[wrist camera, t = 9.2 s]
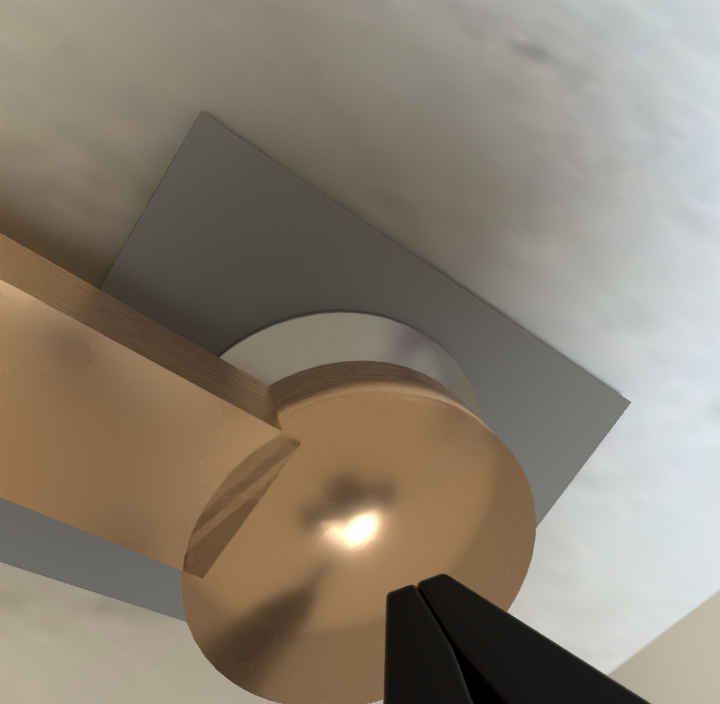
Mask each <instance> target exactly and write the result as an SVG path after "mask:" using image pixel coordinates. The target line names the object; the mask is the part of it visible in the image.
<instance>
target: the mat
mask: <svg viewBox="0 0 720 704" xmlns="http://www.w3.org/2000/svg"><path fill="white" fill-rule="evenodd" d="M100 290H101V291H103V292H105V293H107V294H108V295H110V296H112V297H114V298H115V299H117V300H119V301H121V302H122V303H124V304H126V305H128V306H129V307H131V308H133V309H135V310H136V311H138V312H140V313H142V314H143V315H145V316H147V317H149V318H151V319H152V320H154V321H156V322H158V323H159V324H161V325H163V326H165V327H166V328H168V329H170V330H172V331H173V332H175V333H177V334H179V335H180V336H182V337H184V338H186V339H187V340H189V341H191V342H193V343H194V344H196V345H198V346H200V347H201V348H203V349H205V350H207V351H208V352H210V353H212V354H214V355H215V356H217V355H218V354H219V353H220V352H221V351H223V350H224V349H225V348H226V347H228V346H229V345H230V344H232V343H234V342H235V341H237V340H238V339H240V338H242V337H243V336H245V335H246V334H248V333H250V332H252V331H254V330H256V329H258V328H260V327H262V326H265V325H267V324H269V323H271V322H274V321H277V320H280V319H283V318H286V317H290V316H293V315H297V314H302V313H308V312H313V311H322V310H338V309H341V310H356V311H365V312H370V313H374V314H379V315H384V316H387V317H389V318H392V319H395V320H398V321H401V322H403V323H405V324H407V325H409V326H411V327H413V328H415V329H417V330H419V331H421V332H422V333H423V334H425V335H426V336H427V337H429V338H430V339H432V340H433V341H434V342H436V343H437V344H438V345H439V346H440V347H441V348H442V349H443V350H444V351H446V352H447V353H448V354H449V355H450V356H451V357H452V358H453V359H454V360H455V362H456V363H457V364H458V366H459V367H460V368H461V370H462V371H463V372H464V374H465V375H466V377H467V378H468V380H469V382H470V384H471V386H472V388H473V390H474V392H475V394H476V397H477V400H478V403H479V406H480V408H481V413H482V418H483V422H484V423H485V425H486V426H487V427H488V428H489V429H490V430H491V431H492V432H493V433H494V434H495V435H496V436H497V437H498V438H499V439H500V440H501V441H502V442H503V443H504V444H505V445H506V446H507V447H508V448H509V449H510V451H511V452H512V453H513V455H514V456H515V458H516V459H517V461H518V462H519V464H520V465H521V467H522V469H523V471H524V473H525V475H526V478H527V480H528V482H529V485H530V488H531V492H532V496H533V500H534V506H535V515H536V527H537V526H538V525H539V523H540V522H541V521H542V520H543V518H544V517H545V516H546V514H547V513H548V512H549V510H550V509H551V508H552V506H553V505H554V504H555V502H556V501H557V500H558V498H559V497H560V496H561V494H562V493H563V492H564V490H565V489H566V488H567V486H568V485H569V484H570V483H571V481H572V480H573V479H574V477H575V476H576V475H577V473H578V472H579V471H580V469H581V468H582V467H583V465H584V464H585V463H586V461H587V460H588V459H589V457H590V456H591V455H592V453H593V452H594V451H595V450H596V448H597V447H598V446H599V444H600V443H601V442H602V440H603V439H604V438H605V436H606V435H607V434H608V432H609V431H610V430H611V428H612V427H613V426H614V424H615V423H616V422H617V420H618V419H619V418H620V416H621V415H622V414H623V413H624V411H625V410H626V409H627V407H628V406H629V405H630V403H631V402H630V401H629V400H627V399H626V398H624V397H623V396H621V395H620V394H618V393H617V392H615V391H614V390H613V389H611V388H610V387H608V386H607V385H605V384H604V383H602V382H601V381H599V380H598V379H596V378H595V377H593V376H592V375H590V374H589V373H587V372H586V371H584V370H583V369H581V368H580V367H579V366H577V365H576V364H574V363H573V362H571V361H570V360H568V359H567V358H565V357H564V356H562V355H561V354H559V353H558V352H556V351H555V350H553V349H552V348H550V347H549V346H548V345H546V344H545V343H543V342H542V341H540V340H539V339H537V338H536V337H534V336H533V335H531V334H530V333H528V332H527V331H525V330H524V329H522V328H521V327H519V326H518V325H516V324H515V323H514V322H512V321H511V320H509V319H508V318H506V317H505V316H503V315H502V314H500V313H499V312H497V311H496V310H494V309H493V308H491V307H490V306H488V305H487V304H485V303H484V302H482V301H481V300H480V299H478V298H477V297H475V296H474V295H472V294H471V293H469V292H468V291H466V290H465V289H463V288H462V287H460V286H459V285H457V284H456V283H454V282H453V281H451V280H450V279H449V278H447V277H446V276H444V275H443V274H441V273H440V272H438V271H437V270H435V269H434V268H432V267H431V266H429V265H428V264H426V263H425V262H423V261H422V260H420V259H419V258H417V257H416V256H415V255H413V254H412V253H410V252H409V251H407V250H406V249H404V248H403V247H401V246H400V245H398V244H397V243H395V242H394V241H392V240H391V239H389V238H388V237H386V236H385V235H384V234H382V233H381V232H379V231H378V230H376V229H375V228H373V227H372V226H370V225H369V224H367V223H366V222H364V221H363V220H361V219H360V218H358V217H357V216H355V215H354V214H352V213H351V212H350V211H348V210H347V209H345V208H344V207H342V206H341V205H339V204H338V203H336V202H335V201H333V200H332V199H330V198H329V197H327V196H326V195H324V194H323V193H321V192H320V191H319V190H317V189H316V188H314V187H313V186H311V185H310V184H308V183H307V182H305V181H304V180H302V179H301V178H299V177H298V176H296V175H295V174H293V173H292V172H290V171H289V170H287V169H286V168H285V167H283V166H282V165H280V164H279V163H277V162H276V161H274V160H273V159H271V158H270V157H268V156H267V155H265V154H264V153H262V152H261V151H259V150H258V149H256V148H255V147H254V146H252V145H251V144H249V143H248V142H246V141H245V140H243V139H242V138H240V137H239V136H237V135H236V134H234V133H233V132H231V131H230V130H228V129H227V128H225V127H224V126H222V125H221V124H220V123H218V122H217V121H215V120H214V119H212V118H211V117H209V116H208V115H206V114H205V113H203V112H201V113H200V115H199V116H198V118H197V120H196V122H195V123H194V125H193V127H192V129H191V130H190V132H189V134H188V136H187V137H186V139H185V141H184V143H183V144H182V146H181V148H180V150H179V151H178V153H177V155H176V156H175V158H174V160H173V162H172V163H171V165H170V167H169V169H168V170H167V172H166V174H165V176H164V177H163V179H162V181H161V183H160V184H159V186H158V188H157V189H156V191H155V193H154V195H153V196H152V198H151V200H150V202H149V203H148V205H147V207H146V209H145V210H144V212H143V214H142V216H141V217H140V219H139V221H138V223H137V224H136V226H135V228H134V229H133V231H132V233H131V235H130V236H129V238H128V240H127V242H126V243H125V245H124V247H123V249H122V250H121V252H120V254H119V256H118V257H117V259H116V261H115V262H114V264H113V266H112V268H111V269H110V271H109V273H108V275H107V276H106V278H105V280H104V282H103V283H102V285H101V287H100ZM0 562H2V563H5V564H8V565H11V566H14V567H18V568H21V569H24V570H27V571H30V572H33V573H36V574H39V575H43V576H46V577H49V578H52V579H55V580H58V581H61V582H64V583H67V584H71V585H74V586H77V587H80V588H83V589H86V590H89V591H92V592H96V593H99V594H102V595H105V596H108V597H111V598H114V599H117V600H121V601H124V602H127V603H130V604H133V605H136V606H139V607H142V608H146V609H149V610H152V611H155V612H158V613H161V614H164V615H167V616H171V617H174V618H177V619H180V620H183V621H186V622H187V620H186V616H185V611H184V607H183V602H182V583H181V573H182V570H180V569H177V568H175V567H172V566H170V565H167V564H165V563H162V562H160V561H157V560H155V559H152V558H150V557H147V556H145V555H142V554H140V553H137V552H135V551H132V550H130V549H127V548H125V547H122V546H120V545H118V544H115V543H113V542H110V541H108V540H105V539H103V538H100V537H98V536H95V535H93V534H90V533H88V532H85V531H83V530H80V529H78V528H75V527H73V526H70V525H68V524H65V523H63V522H60V521H58V520H56V519H53V518H51V517H48V516H46V515H43V514H41V513H38V512H36V511H33V510H31V509H28V508H26V507H23V506H21V505H18V504H16V503H13V502H11V501H8V500H6V499H3V498H1V497H0Z"/></svg>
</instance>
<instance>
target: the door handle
mask: <svg viewBox="0 0 720 704" xmlns="http://www.w3.org/2000/svg"><path fill="white" fill-rule="evenodd" d="M0 497H1V498H3V499H6V500H8V501H11V502H13V503H16V504H18V505H21V506H23V507H26V508H28V509H31V510H33V511H36V512H38V513H41V514H43V515H46V516H48V517H51V518H53V519H56V520H58V521H60V522H63V523H65V524H68V525H70V526H73V527H75V528H78V529H80V530H83V531H85V532H88V533H90V534H93V535H95V536H98V537H100V538H103V539H105V540H108V541H110V542H113V543H115V544H118V545H120V546H122V547H125V548H127V549H130V550H132V551H135V552H137V553H140V554H142V555H145V556H147V557H150V558H152V559H155V560H157V561H160V562H162V563H165V564H167V565H170V566H172V567H175V568H177V569H180V570H182V573H181V583H182V602H183V607H184V611H185V616H186V620H187V623H188V626H189V628H190V631H191V633H192V635H193V638H194V640H195V642H196V643H197V645H198V646H199V648H200V649H201V651H202V653H203V654H204V656H205V657H206V658H207V659H208V660H209V661H210V663H211V664H212V665H213V666H214V667H215V668H216V669H217V670H218V671H219V672H220V673H221V674H223V675H224V676H225V677H226V678H228V679H229V680H230V681H231V682H233V683H234V684H236V685H238V686H240V687H241V688H243V689H245V690H246V691H248V692H250V693H252V694H255V695H257V696H260V697H262V698H265V699H267V700H270V701H274V702H278V703H282V704H368V703H372V702H376V701H379V700H383V699H384V662H385V620H386V596H387V594H388V593H389V592H391V591H393V590H396V589H399V588H402V587H405V586H407V585H411V584H412V585H415V586H416V587H417V584H418V583H419V582H420V581H422V580H424V579H427V578H430V577H433V576H436V575H438V574H447V575H449V576H450V577H452V578H454V579H455V580H457V581H458V582H460V583H461V584H463V585H465V586H466V587H468V588H469V589H471V590H473V591H474V592H476V593H477V594H479V595H480V596H482V597H484V598H485V599H487V600H488V601H490V602H491V603H493V604H495V605H496V606H498V607H499V608H501V609H503V610H504V611H506V612H507V611H508V609H509V608H510V606H511V604H512V603H513V601H514V599H515V598H516V596H517V594H518V592H519V590H520V588H521V586H522V583H523V581H524V579H525V577H526V574H527V571H528V568H529V565H530V561H531V558H532V554H533V548H534V543H535V533H536V515H535V506H534V500H533V496H532V492H531V488H530V485H529V482H528V480H527V478H526V475H525V473H524V471H523V469H522V467H521V465H520V464H519V462H518V461H517V459H516V458H515V456H514V455H513V453H512V452H511V451H510V449H509V448H508V447H507V446H506V445H505V444H504V443H503V442H502V441H501V440H500V439H499V438H498V437H497V436H496V435H495V434H494V433H493V432H492V431H491V430H490V429H489V428H488V427H487V426H486V425H485V423H484V422H483V421H482V420H481V419H480V418H479V417H478V416H477V415H476V414H475V413H474V412H473V411H472V410H471V409H470V408H469V407H468V406H467V405H466V404H465V403H464V402H463V401H462V400H461V399H460V398H459V397H458V396H457V395H456V394H455V393H454V392H452V391H451V390H450V389H448V388H447V387H446V386H445V385H443V384H442V383H440V382H439V381H437V380H435V379H433V378H431V377H430V376H428V375H426V374H424V373H421V372H419V371H416V370H413V369H411V368H408V367H405V366H401V365H396V364H392V363H387V362H377V361H366V360H364V361H342V362H336V363H330V364H324V365H320V366H316V367H313V368H309V369H306V370H302V371H299V372H297V373H294V374H292V375H290V376H287V377H285V378H283V379H280V380H278V381H276V382H275V383H273V384H271V385H269V386H268V385H266V384H265V383H263V382H261V381H259V380H258V379H256V378H254V377H252V376H250V375H249V374H247V373H245V372H243V371H242V370H240V369H238V368H236V367H235V366H233V365H231V364H229V363H228V362H226V361H224V360H222V359H221V358H219V357H217V356H215V355H214V354H212V353H210V352H208V351H207V350H205V349H203V348H201V347H200V346H198V345H196V344H194V343H193V342H191V341H189V340H187V339H186V338H184V337H182V336H180V335H179V334H177V333H175V332H173V331H172V330H170V329H168V328H166V327H165V326H163V325H161V324H159V323H158V322H156V321H154V320H152V319H151V318H149V317H147V316H145V315H143V314H142V313H140V312H138V311H136V310H135V309H133V308H131V307H129V306H128V305H126V304H124V303H122V302H121V301H119V300H117V299H115V298H114V297H112V296H110V295H108V294H107V293H105V292H103V291H101V290H100V289H98V288H96V287H94V286H93V285H91V284H89V283H87V282H86V281H84V280H82V279H80V278H79V277H77V276H75V275H73V274H72V273H70V272H68V271H66V270H65V269H63V268H61V267H59V266H58V265H56V264H54V263H52V262H51V261H49V260H47V259H45V258H44V257H42V256H40V255H38V254H37V253H35V252H33V251H31V250H29V249H28V248H26V247H24V246H22V245H21V244H19V243H17V242H15V241H14V240H12V239H10V238H8V237H7V236H5V235H3V234H1V233H0Z"/></svg>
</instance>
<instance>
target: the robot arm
mask: <svg viewBox="0 0 720 704" xmlns="http://www.w3.org/2000/svg"><path fill="white" fill-rule="evenodd" d="M383 704H651V703H649V702H648V701H646V700H645V699H643V698H642V697H640V696H638V695H637V694H635V693H633V692H632V691H630V690H629V689H627V688H626V687H624V686H623V685H621V684H619V683H618V682H616V681H615V680H613V679H611V678H610V677H608V676H607V675H605V674H604V673H602V672H600V671H599V670H597V669H596V668H594V667H593V666H591V665H589V664H588V663H586V662H585V661H583V660H582V659H580V658H578V657H577V656H575V655H574V654H572V653H570V652H569V651H567V650H566V649H564V648H563V647H561V646H559V645H558V644H556V643H555V642H553V641H552V640H550V639H548V638H547V637H545V636H544V635H542V634H540V633H539V632H537V631H536V630H534V629H533V628H531V627H529V626H528V625H526V624H525V623H523V622H521V621H520V620H518V619H517V618H515V617H514V616H512V615H510V614H509V613H507V612H506V611H504V610H503V609H501V608H499V607H498V606H496V605H495V604H493V603H491V602H490V601H488V600H487V599H485V598H484V597H482V596H480V595H479V594H477V593H476V592H474V591H473V590H471V589H469V588H468V587H466V586H465V585H463V584H461V583H460V582H458V581H457V580H455V579H454V578H452V577H450V576H449V575H447V574H438V575H436V576H433V577H430V578H427V579H424V580H422V581H420V582H419V583H418V584H417V587H416V586H415V585H412V584H411V585H407V586H405V587H402V588H399V589H396V590H393V591H391V592H389V593H388V594H387V596H386V620H385V662H384V703H383Z"/></svg>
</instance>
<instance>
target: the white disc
mask: <svg viewBox="0 0 720 704" xmlns="http://www.w3.org/2000/svg"><path fill="white" fill-rule="evenodd" d="M217 357H219V358H221V359H222V360H224V361H226V362H228V363H229V364H231V365H233V366H235V367H236V368H238V369H240V370H242V371H243V372H245V373H247V374H249V375H250V376H252V377H254V378H256V379H258V380H259V381H261V382H263V383H265V384H266V385H268V386H269V385H271V384H273V383H275V382H276V381H278V380H280V379H283V378H285V377H287V376H290V375H292V374H294V373H297V372H299V371H302V370H306V369H309V368H313V367H316V366H320V365H324V364H330V363H336V362H342V361H364V360H366V361H377V362H387V363H392V364H396V365H401V366H405V367H408V368H411V369H413V370H416V371H419V372H421V373H424V374H426V375H428V376H430V377H431V378H433V379H435V380H437V381H439V382H440V383H442V384H443V385H445V386H446V387H447V388H448V389H450V390H451V391H452V392H454V393H455V394H456V395H457V396H458V397H459V398H460V399H461V400H462V401H463V402H464V403H465V404H466V405H467V406H468V407H469V408H470V409H471V410H472V411H473V412H474V413H475V414H476V415H477V416H478V417H479V418H480V419H481V420H482V421H483V418H482V413H481V408H480V406H479V403H478V400H477V397H476V394H475V392H474V390H473V388H472V386H471V384H470V382H469V380H468V378H467V377H466V375H465V374H464V372H463V371H462V370H461V368H460V367H459V366H458V364H457V363H456V362H455V360H454V359H453V358H452V357H451V356H450V355H449V354H448V353H447V352H446V351H444V350H443V349H442V348H441V347H440V346H439V345H438V344H437V343H436V342H434V341H433V340H432V339H430V338H429V337H427V336H426V335H425V334H423V333H422V332H421V331H419V330H417V329H415V328H413V327H411V326H409V325H407V324H405V323H403V322H401V321H398V320H395V319H392V318H389V317H387V316H384V315H379V314H374V313H370V312H365V311H356V310H341V309H338V310H322V311H313V312H308V313H302V314H297V315H293V316H290V317H286V318H283V319H280V320H277V321H274V322H271V323H269V324H267V325H265V326H262V327H260V328H258V329H256V330H254V331H252V332H250V333H248V334H246V335H245V336H243V337H242V338H240V339H238V340H237V341H235V342H234V343H232V344H230V345H229V346H228V347H226V348H225V349H224V350H223V351H221V352H220V353H219V354H218V355H217Z"/></svg>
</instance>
